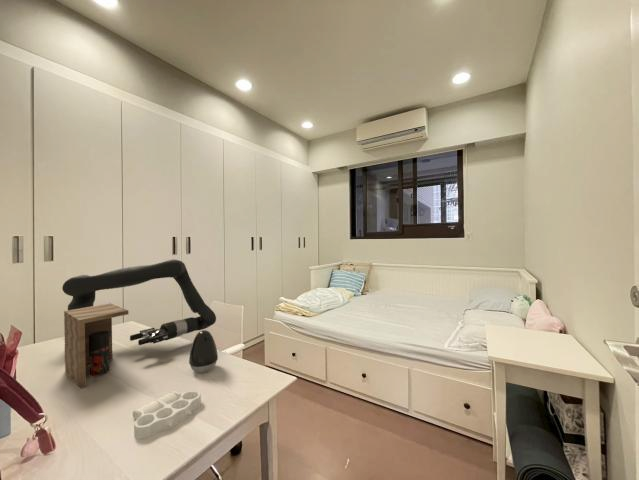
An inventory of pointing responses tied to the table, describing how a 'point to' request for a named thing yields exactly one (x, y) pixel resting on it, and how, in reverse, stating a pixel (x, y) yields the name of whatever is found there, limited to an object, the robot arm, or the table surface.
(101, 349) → the deodorant
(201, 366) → the black rounded cone
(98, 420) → the table surface
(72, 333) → the wooden stand
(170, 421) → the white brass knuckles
